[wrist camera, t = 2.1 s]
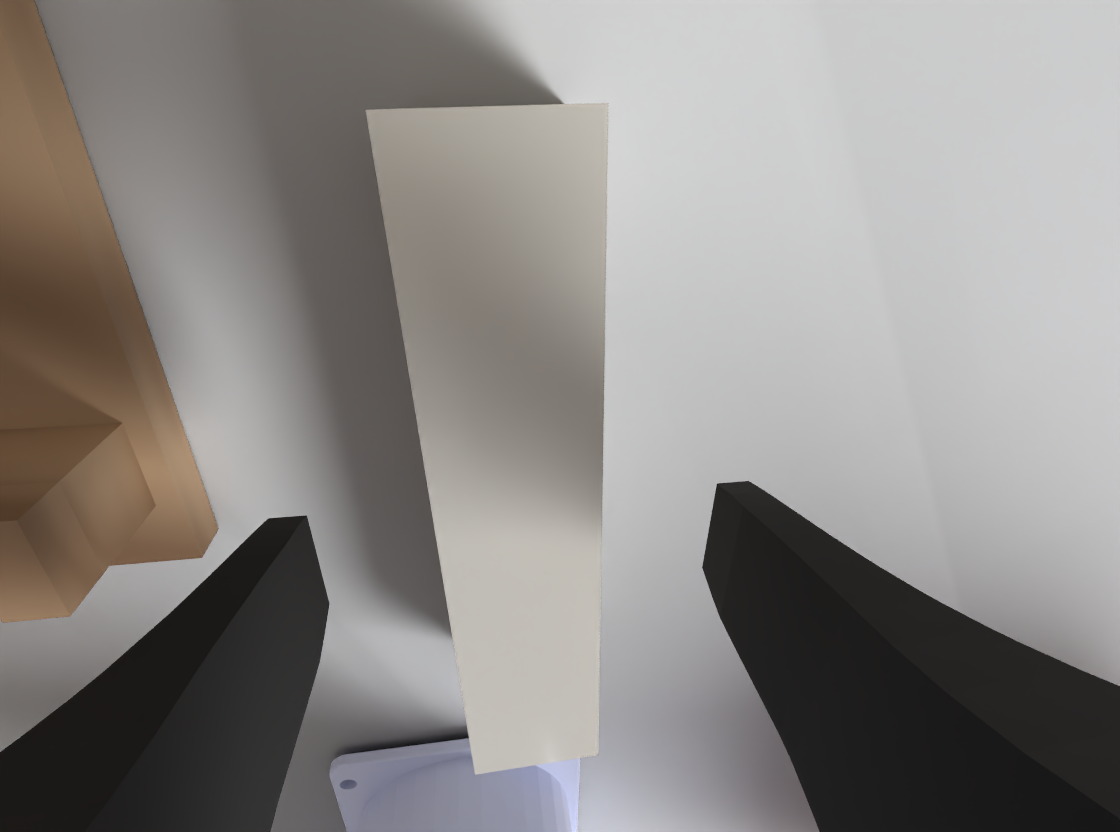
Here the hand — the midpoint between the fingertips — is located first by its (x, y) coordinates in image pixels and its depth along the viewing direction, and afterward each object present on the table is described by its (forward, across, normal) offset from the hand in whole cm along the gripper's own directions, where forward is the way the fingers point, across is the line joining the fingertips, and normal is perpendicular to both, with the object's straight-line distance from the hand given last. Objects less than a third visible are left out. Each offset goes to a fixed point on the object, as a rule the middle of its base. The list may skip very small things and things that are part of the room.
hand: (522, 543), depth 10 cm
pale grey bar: (+4, 0, 0) cm, 4 cm away
